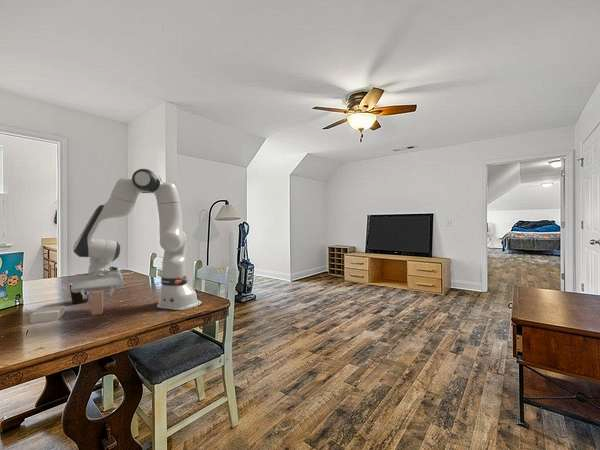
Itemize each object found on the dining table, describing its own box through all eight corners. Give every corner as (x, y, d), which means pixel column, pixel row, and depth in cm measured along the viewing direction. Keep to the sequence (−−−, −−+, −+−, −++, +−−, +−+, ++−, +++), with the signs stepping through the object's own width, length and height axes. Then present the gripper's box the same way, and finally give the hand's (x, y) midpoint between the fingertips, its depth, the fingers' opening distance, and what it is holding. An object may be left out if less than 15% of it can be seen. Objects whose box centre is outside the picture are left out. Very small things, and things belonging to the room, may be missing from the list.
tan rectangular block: (102, 311, 132) (103, 290, 132) (102, 313, 129) (102, 292, 129) (92, 312, 130) (92, 291, 130) (91, 315, 127) (91, 293, 127)
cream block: (64, 314, 128) (64, 305, 128) (58, 320, 120) (58, 311, 120) (38, 316, 124) (38, 308, 124) (30, 323, 116) (30, 314, 116)
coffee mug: (78, 305, 140) (78, 285, 139) (64, 303, 141) (65, 284, 141) (99, 298, 151) (99, 280, 151) (86, 297, 153) (86, 279, 153)
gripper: (71, 270, 130) (67, 296, 122) (123, 267, 140) (122, 291, 132) (73, 278, 134) (69, 304, 126) (123, 274, 144) (122, 298, 136)
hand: (97, 297), depth 129 cm, fingers open, 8 cm apart
